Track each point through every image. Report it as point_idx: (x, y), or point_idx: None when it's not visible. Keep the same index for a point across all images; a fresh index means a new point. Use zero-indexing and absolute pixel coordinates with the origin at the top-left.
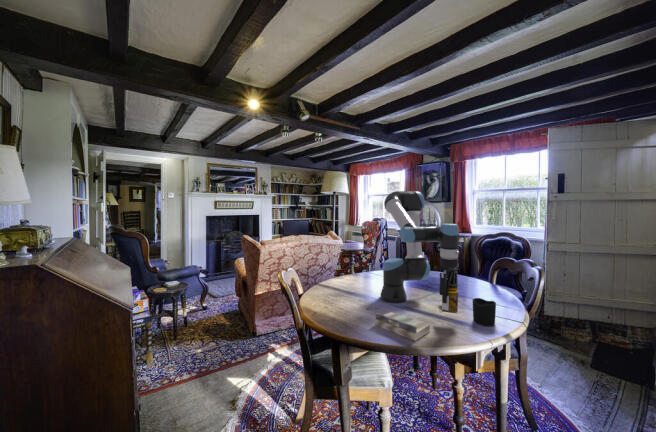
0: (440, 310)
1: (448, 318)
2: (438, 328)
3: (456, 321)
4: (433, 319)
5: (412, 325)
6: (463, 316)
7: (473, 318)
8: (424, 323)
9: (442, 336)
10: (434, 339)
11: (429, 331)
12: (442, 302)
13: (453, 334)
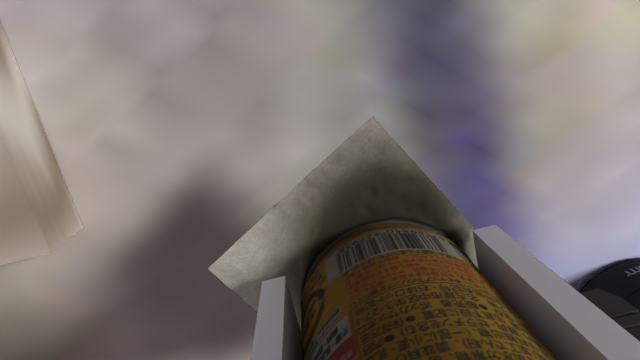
0: (252, 257)
1: (474, 123)
2: (204, 223)
3: (472, 205)
4: (327, 61)
5: None
6: (631, 165)
7: (604, 290)
8: (17, 207)
9: (118, 332)
10: (17, 336)
11: (79, 229)
12: (256, 348)
13: (226, 347)
